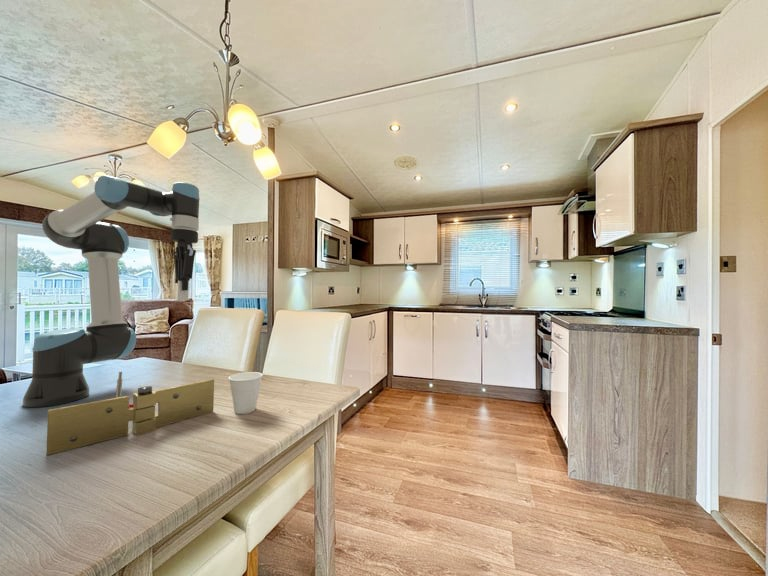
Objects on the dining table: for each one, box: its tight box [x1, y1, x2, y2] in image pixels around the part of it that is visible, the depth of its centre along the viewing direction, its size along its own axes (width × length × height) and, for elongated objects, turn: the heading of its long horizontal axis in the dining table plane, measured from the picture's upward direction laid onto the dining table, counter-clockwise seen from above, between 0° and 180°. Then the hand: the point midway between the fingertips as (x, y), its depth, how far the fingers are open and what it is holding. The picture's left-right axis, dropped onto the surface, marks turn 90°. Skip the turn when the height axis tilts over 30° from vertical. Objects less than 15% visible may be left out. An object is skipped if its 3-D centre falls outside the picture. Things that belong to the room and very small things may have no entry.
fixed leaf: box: [131, 378, 215, 437], centre depth 85 cm, size 4×19×10 cm, turn 142°
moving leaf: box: [45, 395, 156, 456], centre depth 74 cm, size 4×19×10 cm, turn 136°
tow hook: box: [115, 371, 134, 409], centre depth 93 cm, size 8×13×9 cm
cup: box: [228, 371, 264, 415], centre depth 94 cm, size 10×10×11 cm
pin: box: [137, 385, 153, 422], centre depth 80 cm, size 3×3×11 cm
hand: (182, 300), depth 100 cm, fingers closed
